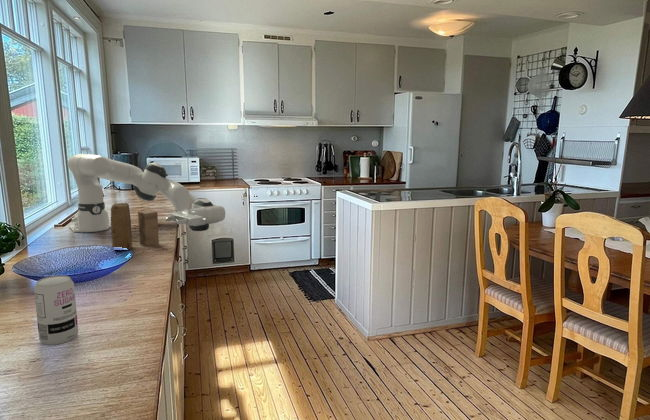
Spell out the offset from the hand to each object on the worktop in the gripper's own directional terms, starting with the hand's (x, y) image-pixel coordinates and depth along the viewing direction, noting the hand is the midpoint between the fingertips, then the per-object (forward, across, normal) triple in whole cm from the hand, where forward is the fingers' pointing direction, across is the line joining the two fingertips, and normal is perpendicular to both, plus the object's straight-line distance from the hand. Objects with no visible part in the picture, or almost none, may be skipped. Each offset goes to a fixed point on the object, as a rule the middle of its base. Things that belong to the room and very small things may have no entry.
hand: (171, 220), depth 201 cm
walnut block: (+11, 0, -9) cm, 15 cm away
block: (+23, 0, -10) cm, 25 cm away
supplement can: (+71, -71, -10) cm, 100 cm away
